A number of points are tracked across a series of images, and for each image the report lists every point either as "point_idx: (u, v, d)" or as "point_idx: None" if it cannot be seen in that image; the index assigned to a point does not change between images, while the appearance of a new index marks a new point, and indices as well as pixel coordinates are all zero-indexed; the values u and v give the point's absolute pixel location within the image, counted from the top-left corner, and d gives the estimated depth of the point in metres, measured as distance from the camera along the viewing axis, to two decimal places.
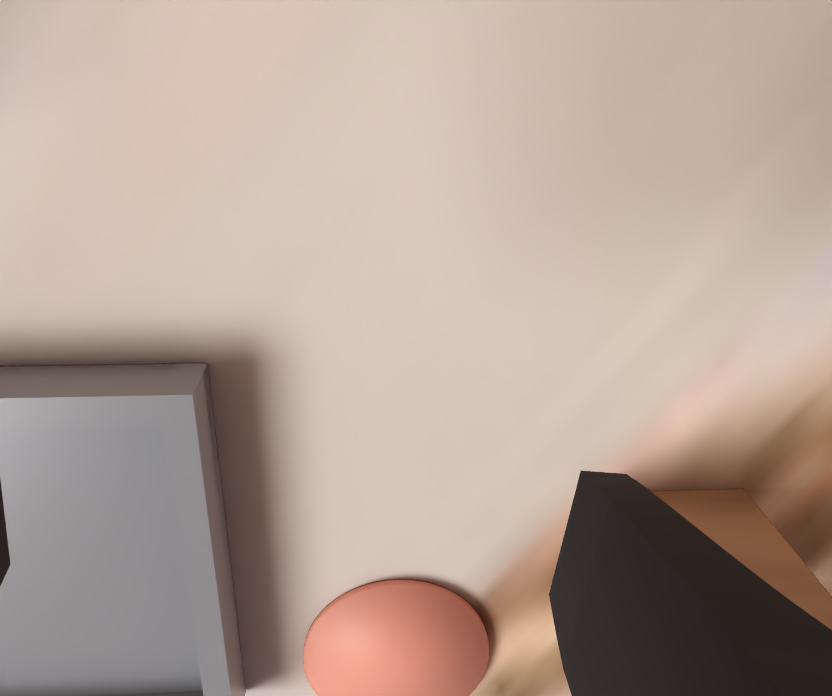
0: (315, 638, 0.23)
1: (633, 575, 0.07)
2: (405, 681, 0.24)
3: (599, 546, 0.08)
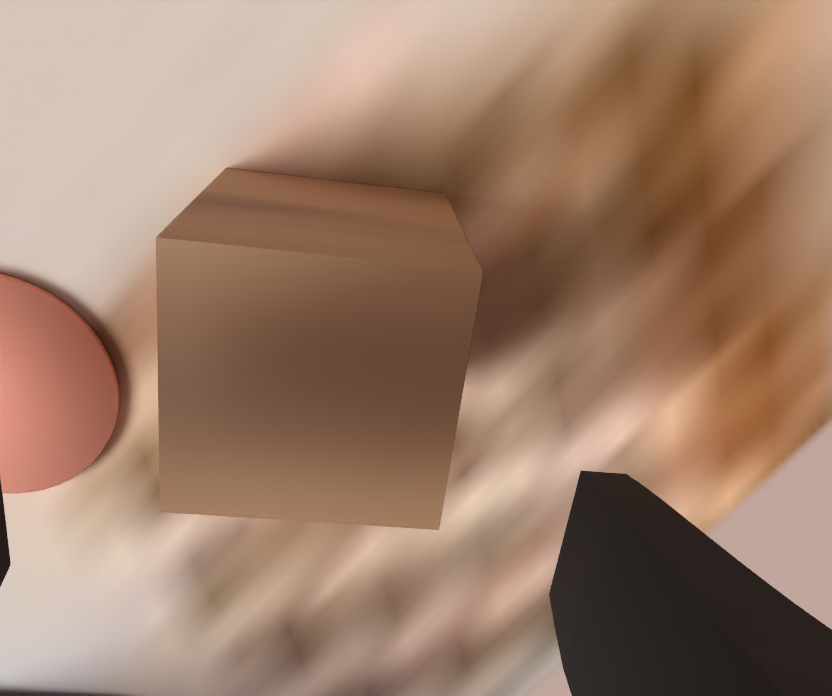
0: None
1: (633, 575, 0.07)
2: (4, 427, 0.18)
3: (599, 546, 0.08)
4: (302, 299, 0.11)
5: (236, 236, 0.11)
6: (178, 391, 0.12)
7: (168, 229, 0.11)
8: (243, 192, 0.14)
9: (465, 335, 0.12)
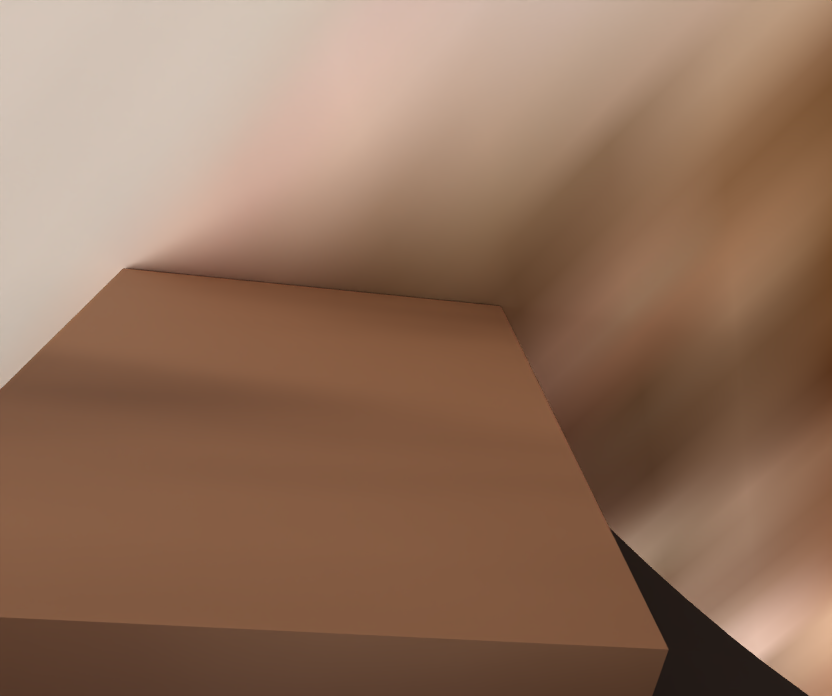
0: None
1: None
2: None
3: None
4: None
5: (32, 558, 0.04)
6: None
7: None
8: (127, 345, 0.07)
9: None
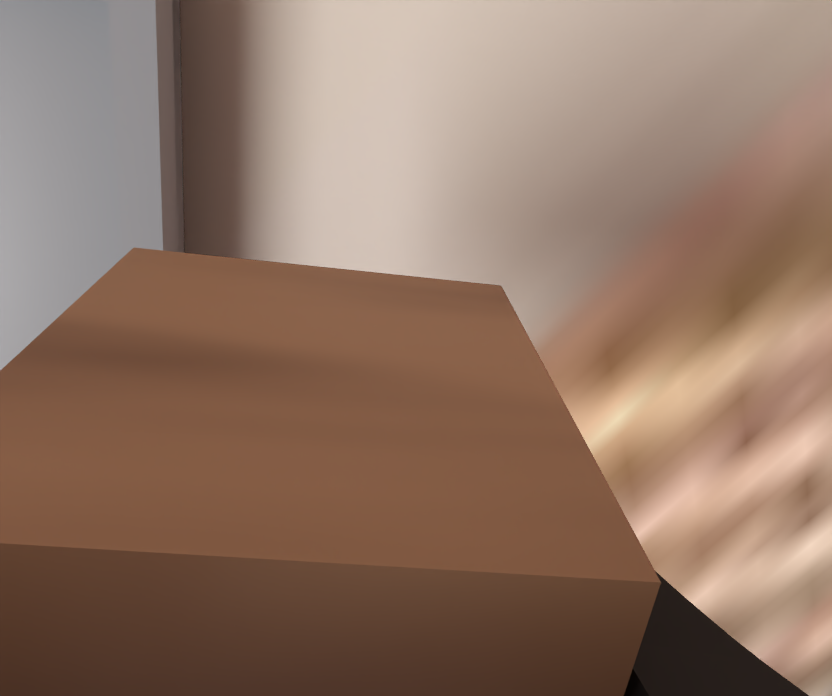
0: None
1: None
2: None
3: None
4: (218, 650, 0.05)
5: (59, 497, 0.05)
6: None
7: None
8: (140, 315, 0.08)
9: None
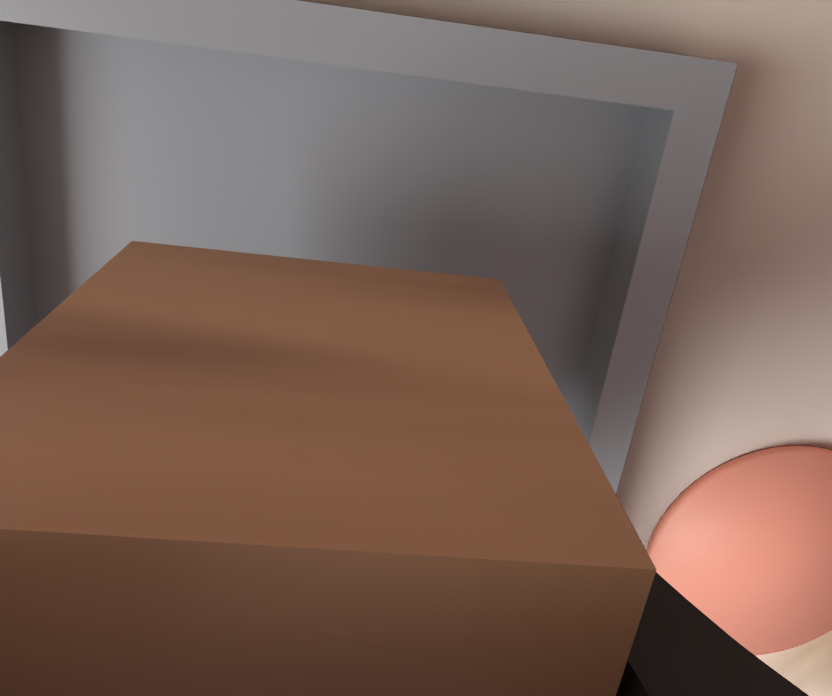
0: (681, 519, 0.16)
1: None
2: (770, 594, 0.18)
3: None
4: (213, 637, 0.05)
5: (54, 482, 0.05)
6: None
7: None
8: (138, 306, 0.08)
9: (600, 692, 0.05)
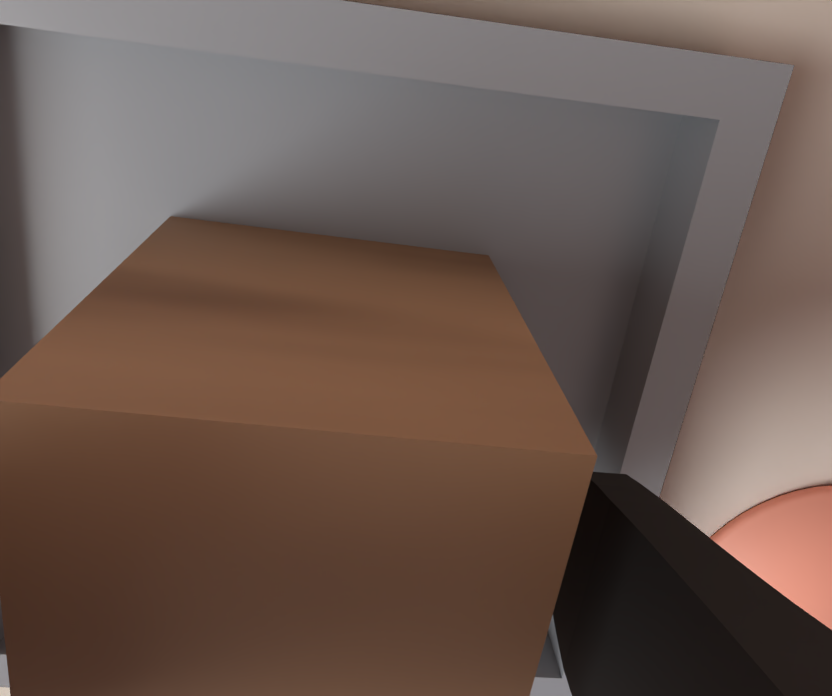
0: None
1: (633, 575, 0.07)
2: None
3: (599, 546, 0.08)
4: (263, 501, 0.06)
5: (143, 385, 0.06)
6: (42, 648, 0.07)
7: (15, 373, 0.06)
8: (184, 267, 0.09)
9: (556, 557, 0.07)
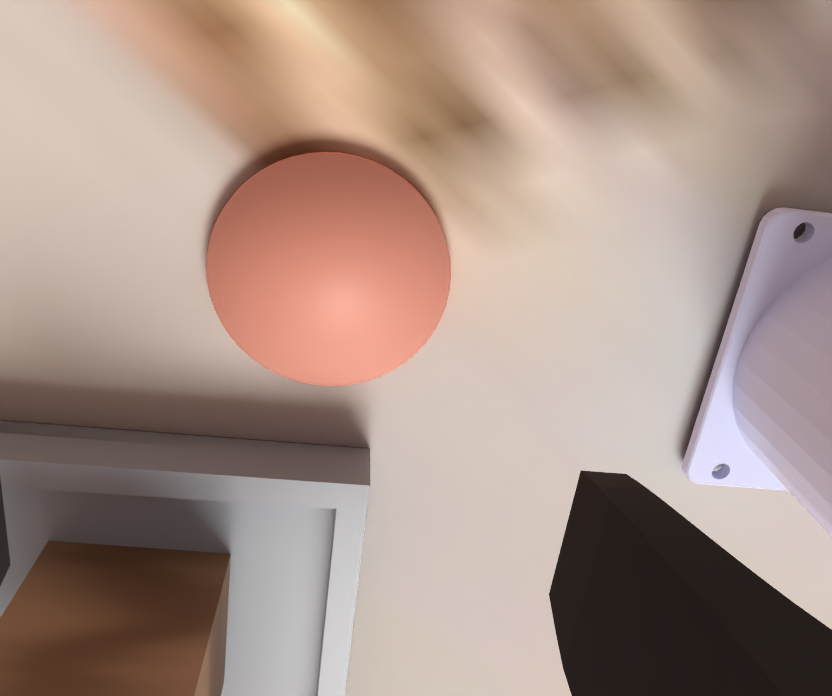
0: (283, 367, 0.19)
1: (633, 575, 0.07)
2: (371, 270, 0.18)
3: (599, 546, 0.08)
4: None
5: None
6: None
7: None
8: None
9: None
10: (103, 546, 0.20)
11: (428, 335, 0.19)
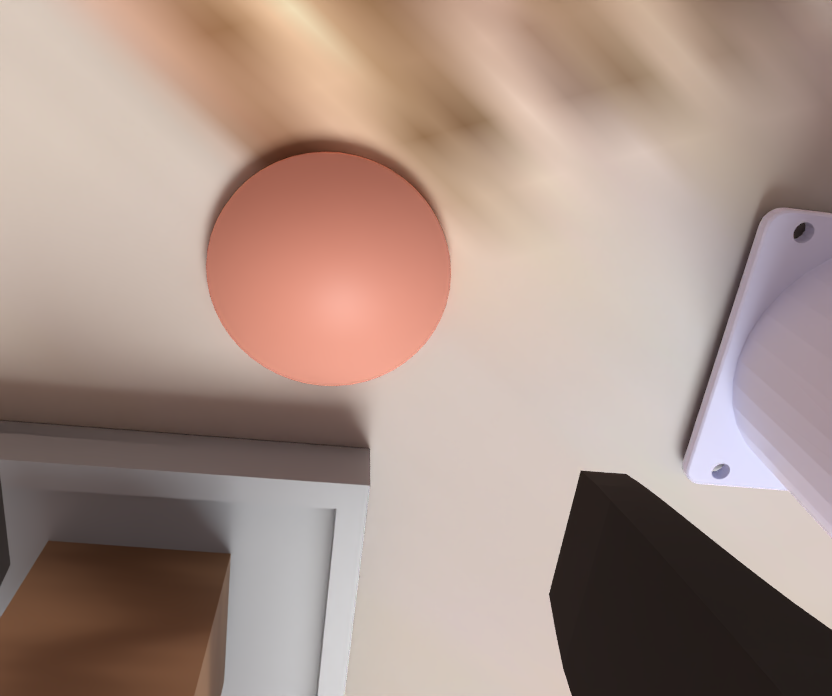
0: (283, 367, 0.19)
1: (633, 575, 0.07)
2: (371, 270, 0.18)
3: (599, 546, 0.08)
4: None
5: None
6: None
7: None
8: None
9: None
10: (103, 546, 0.20)
11: (428, 335, 0.19)
